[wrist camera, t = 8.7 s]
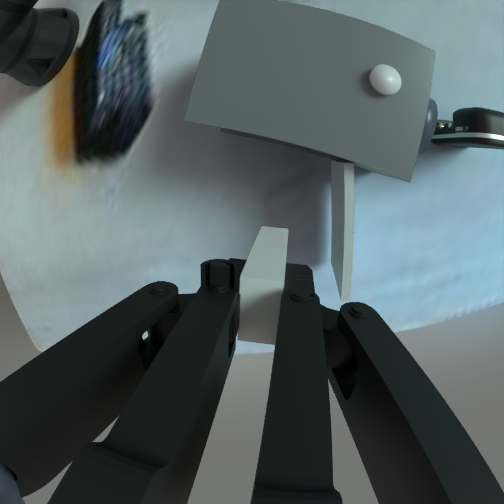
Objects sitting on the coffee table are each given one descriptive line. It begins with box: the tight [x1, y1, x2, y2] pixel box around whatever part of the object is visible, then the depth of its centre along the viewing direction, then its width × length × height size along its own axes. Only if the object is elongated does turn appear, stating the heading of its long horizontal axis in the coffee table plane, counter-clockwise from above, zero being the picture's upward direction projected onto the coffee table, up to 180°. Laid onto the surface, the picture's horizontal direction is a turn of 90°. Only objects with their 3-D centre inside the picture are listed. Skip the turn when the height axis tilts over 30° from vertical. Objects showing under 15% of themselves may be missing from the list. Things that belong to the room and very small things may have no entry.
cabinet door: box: [330, 161, 354, 300], centre depth 27 cm, size 12×1×9 cm, turn 4°
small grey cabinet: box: [184, 0, 438, 182], centre depth 23 cm, size 20×12×13 cm, turn 76°
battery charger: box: [432, 107, 504, 149], centre depth 21 cm, size 7×4×11 cm, turn 96°
